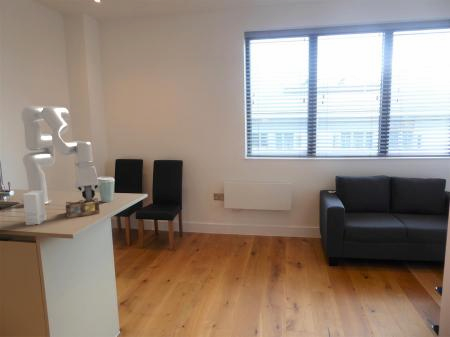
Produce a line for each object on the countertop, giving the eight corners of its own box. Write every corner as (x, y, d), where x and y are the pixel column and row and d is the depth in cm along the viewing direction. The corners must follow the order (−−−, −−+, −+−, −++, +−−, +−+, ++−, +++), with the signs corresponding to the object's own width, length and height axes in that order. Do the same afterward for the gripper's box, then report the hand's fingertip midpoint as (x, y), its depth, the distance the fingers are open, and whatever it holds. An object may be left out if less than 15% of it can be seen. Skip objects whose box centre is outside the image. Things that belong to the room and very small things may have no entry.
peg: (86, 205, 170) (84, 185, 169) (85, 203, 173) (83, 184, 172) (93, 204, 172) (91, 184, 170) (92, 202, 175) (91, 183, 173)
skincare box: (34, 220, 162) (30, 190, 159) (47, 219, 162) (44, 189, 160) (25, 225, 153) (21, 194, 151) (39, 224, 154) (35, 193, 152)
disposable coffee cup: (116, 198, 203) (114, 175, 201) (116, 202, 193) (114, 178, 191) (98, 200, 200) (96, 176, 197) (98, 204, 190) (95, 179, 187)
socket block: (66, 218, 163) (65, 206, 162) (67, 212, 173) (65, 201, 172) (99, 213, 170) (98, 202, 169) (98, 208, 180) (97, 197, 179)
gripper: (68, 166, 162) (72, 201, 165) (102, 164, 170) (105, 197, 172) (68, 165, 169) (72, 198, 172) (101, 162, 176) (104, 194, 179)
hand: (88, 197), depth 172 cm, fingers closed on peg, 3 cm apart
